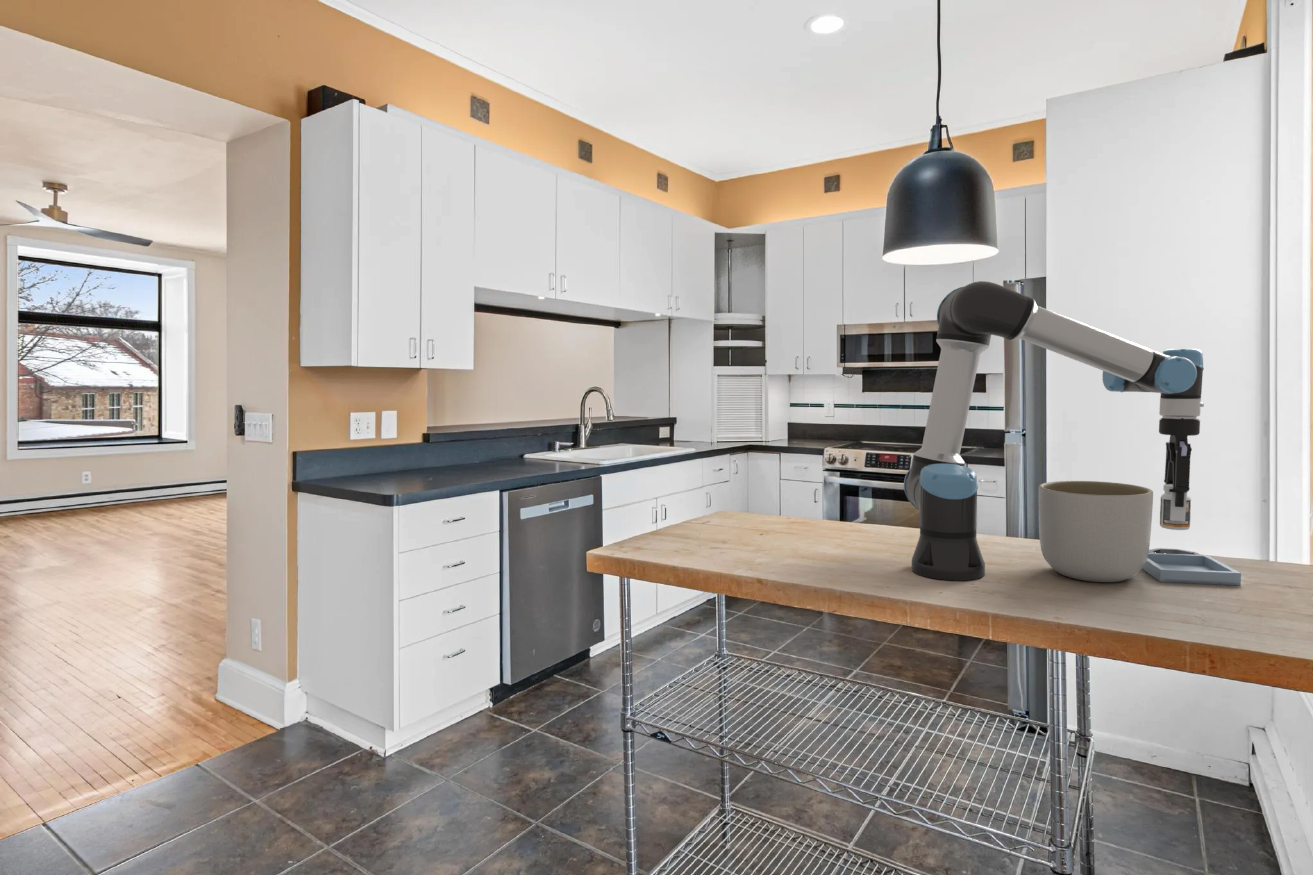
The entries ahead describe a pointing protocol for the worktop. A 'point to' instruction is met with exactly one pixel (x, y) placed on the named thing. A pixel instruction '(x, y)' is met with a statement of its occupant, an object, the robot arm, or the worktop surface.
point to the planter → (1095, 528)
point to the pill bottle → (1165, 511)
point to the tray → (1190, 569)
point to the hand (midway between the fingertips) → (1174, 517)
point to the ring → (1172, 551)
